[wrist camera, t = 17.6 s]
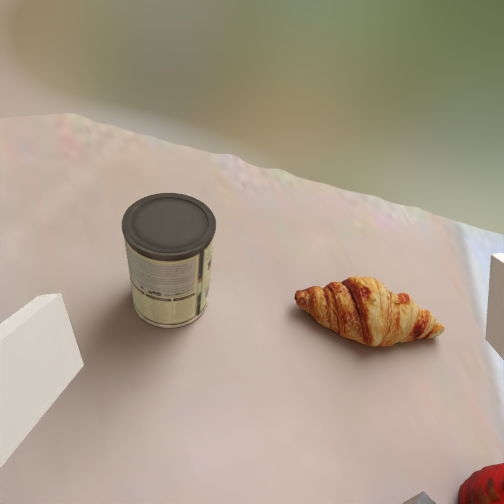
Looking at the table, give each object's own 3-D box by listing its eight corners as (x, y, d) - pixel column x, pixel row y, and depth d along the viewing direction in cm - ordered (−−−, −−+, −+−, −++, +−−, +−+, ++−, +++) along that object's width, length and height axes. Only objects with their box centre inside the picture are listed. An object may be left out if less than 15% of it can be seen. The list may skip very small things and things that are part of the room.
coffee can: (127, 275, 55) (116, 197, 45) (198, 263, 59) (203, 188, 49) (138, 337, 49) (128, 261, 39) (217, 320, 52) (227, 246, 42)
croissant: (421, 331, 60) (439, 284, 58) (451, 370, 51) (474, 315, 48) (287, 304, 60) (299, 256, 57) (291, 338, 50) (306, 281, 48)
